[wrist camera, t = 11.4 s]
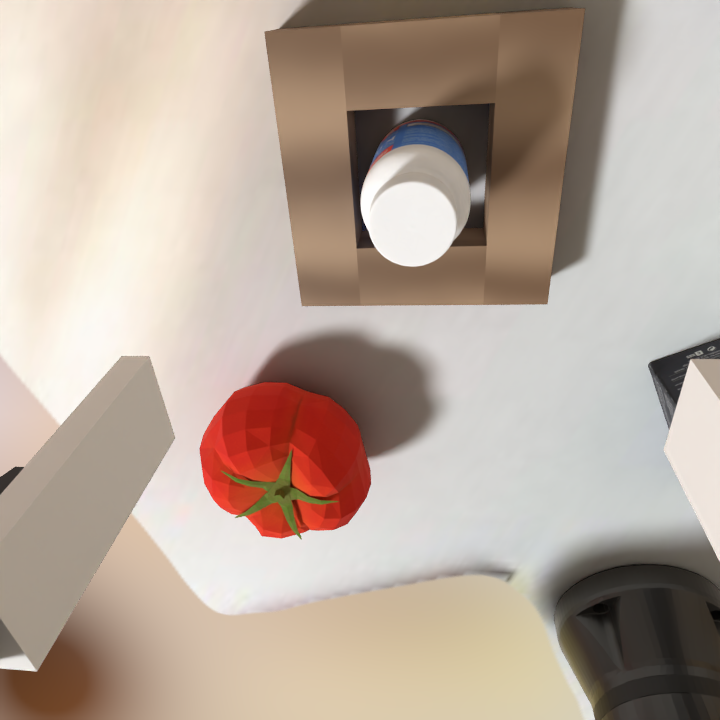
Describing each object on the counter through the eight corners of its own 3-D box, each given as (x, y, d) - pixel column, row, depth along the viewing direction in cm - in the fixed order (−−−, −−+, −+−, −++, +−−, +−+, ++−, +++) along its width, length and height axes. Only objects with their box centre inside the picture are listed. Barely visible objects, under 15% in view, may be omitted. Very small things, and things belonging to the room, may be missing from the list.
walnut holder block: (539, 282, 36) (547, 304, 33) (310, 285, 38) (301, 305, 35) (571, 7, 28) (585, 8, 25) (278, 28, 30) (264, 31, 27)
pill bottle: (384, 107, 31) (366, 146, 23) (477, 129, 31) (492, 175, 23) (365, 202, 34) (343, 266, 26) (450, 222, 34) (454, 291, 26)
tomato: (196, 434, 47) (153, 513, 40) (266, 332, 40) (230, 403, 33) (323, 504, 50) (305, 589, 42) (407, 419, 43) (402, 502, 36)
